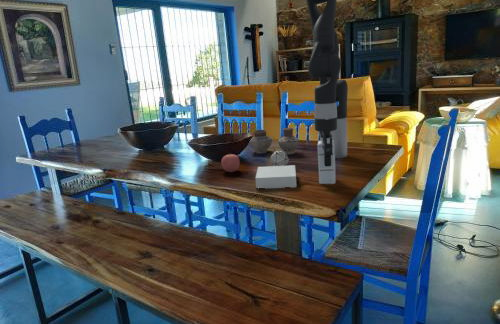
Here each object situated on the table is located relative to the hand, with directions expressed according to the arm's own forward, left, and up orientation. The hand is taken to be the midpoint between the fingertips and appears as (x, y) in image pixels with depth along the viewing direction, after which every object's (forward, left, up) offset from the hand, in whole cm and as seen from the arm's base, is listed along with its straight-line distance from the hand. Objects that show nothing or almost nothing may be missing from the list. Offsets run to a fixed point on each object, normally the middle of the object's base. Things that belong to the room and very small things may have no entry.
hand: (326, 163), depth 129 cm
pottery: (-48, -20, -7) cm, 52 cm away
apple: (-18, -37, -7) cm, 42 cm away
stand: (-2, -18, -7) cm, 19 cm away
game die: (-19, -17, -7) cm, 26 cm away
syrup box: (0, 0, -7) cm, 7 cm away
